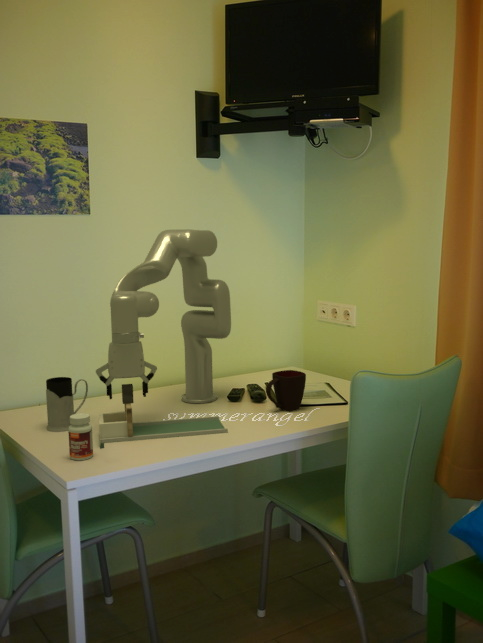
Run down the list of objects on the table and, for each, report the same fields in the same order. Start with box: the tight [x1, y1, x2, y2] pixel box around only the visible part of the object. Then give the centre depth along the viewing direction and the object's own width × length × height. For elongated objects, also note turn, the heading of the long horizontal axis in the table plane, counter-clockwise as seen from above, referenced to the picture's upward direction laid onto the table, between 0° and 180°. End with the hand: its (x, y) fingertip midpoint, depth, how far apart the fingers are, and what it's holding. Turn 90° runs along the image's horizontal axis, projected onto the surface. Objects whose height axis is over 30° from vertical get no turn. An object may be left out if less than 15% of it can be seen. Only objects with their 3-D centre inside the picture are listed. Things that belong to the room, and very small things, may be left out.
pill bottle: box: [67, 412, 94, 461], centre depth 176 cm, size 6×6×11 cm
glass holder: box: [45, 376, 89, 433], centre depth 204 cm, size 9×14×15 cm, turn 136°
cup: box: [265, 369, 307, 412], centre depth 218 cm, size 10×14×12 cm
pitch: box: [98, 410, 229, 449], centre depth 193 cm, size 14×36×6 cm, turn 103°
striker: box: [121, 383, 135, 436], centre depth 190 cm, size 14×3×14 cm, turn 13°
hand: (127, 396), depth 190 cm, fingers open, 9 cm apart
